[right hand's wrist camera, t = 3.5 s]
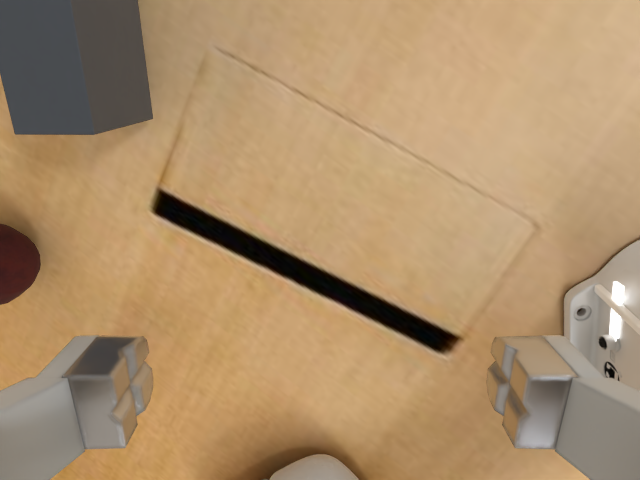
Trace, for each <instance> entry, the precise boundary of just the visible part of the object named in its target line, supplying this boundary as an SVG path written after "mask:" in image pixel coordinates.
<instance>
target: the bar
mask: <svg viewBox="0 0 640 480" xmlns="http://www.w3.org/2000/svg"><path fill="white" fill-rule="evenodd" d="M0 75H1V79H2V83H3V87H4V91H5V95H6V99H7V103H8V107H9V112H10V116H11V120H12V124H13V128H14V132H15V134H39V135H95V134H98V133H102V132H106V131H110V130H113V129H117V128H121V127H125V126H128V125H132V124H136V123H139V122H143V121H147V120H151V119H153V115H152V107H151V100H150V92H149V84H148V77H147V69H146V61H145V54H144V46H143V38H142V31H141V23H140V15H139V8H138V0H0Z"/></svg>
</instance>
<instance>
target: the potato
mask: <svg viewBox="0 0 640 480" xmlns="http://www.w3.org/2000/svg"><path fill="white" fill-rule="evenodd" d="M39 270H40V254H39V252H38V250H37V248H36V246H35V245H34V243H33V242H32V241H31V240H30V239H29V238H28V237H27V236H25V235H23V234H22V233H20V232H18V231H17V230H15V229H13V228H11V227H9V226H7V225H3V224H0V305H1V304H5V303H8V302H10V301H12V300H13V299H15V298H16V297H18V296H19V295H21V294H22V293H23V292H24V291H25V290H27V289H28V288H29V287H30V286H31V285H32V283H33V282H34V281H35V279H36V276H37V274H38V272H39Z"/></svg>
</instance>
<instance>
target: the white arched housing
mask: <svg viewBox="0 0 640 480" xmlns="http://www.w3.org/2000/svg"><path fill="white" fill-rule="evenodd" d="M262 480H269V479H262ZM270 480H359V479H358V478H357V477H356V476H355V475H354V474H353V473H352V472H351V471H350V469H349V468H347V467H346V466H345V465H344V464H343V463H342V462H340V461H339V460H338V459H336V458H334V457H332V456H330V455H326V454H316V455H311V456H308V457H305V458H302V459H300V460H298V461H296V462H293V463H291V464H289V465H287V466H286V467H284V468H282V469H280V470H278V471H276V472H275V473H274V474H273V475H272V476H271V478H270Z"/></svg>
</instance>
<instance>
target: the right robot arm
mask: <svg viewBox="0 0 640 480" xmlns="http://www.w3.org/2000/svg"><path fill="white" fill-rule="evenodd" d="M580 308H582V309H581V310H580V311H579V312H577V311H578V310H579V309H580ZM148 354H149V349H148V343H147V340H146V339H145V338H144V337H143V336H104V335H102V336H99V335H80V336H76V337H74V338H73V339H72V340H71V341H70V342H69V343H68V344H67V345H66V346H65V347H64V348H63V350H62V351H61V352H60V353H59V354H58V355H57V356H56V357H55V358H54V359H53V360H52V361H51V362H50V363H49V364H48V365H47V366H46V367H45V368H44V369H43V370H42V371H41V372H40V373H39V374H38V376H37V377H36V378H27V379H25V380H22V381H20V382H18V383H16V384H14V385H12V386H9V387H7V388H5V389H3V390H1V391H0V480H50V479H51V478H52V477H54V476H55V475H56V474H57V473H58V472H60V471H61V470H62V469H63V468H65V467H66V466H67V465H68V464H70V463H71V462H72V461H73V460H75V459H76V458H77V457H78V456H80V455H81V454H82V453H83V452H85V449H109V448H125V447H126V445H127V444H128V442H129V440H130V438H131V436H132V434H133V432H134V431H135V429H136V427H137V425H138V424H137V418H136V416H137V415H139V414H140V413H142V412H143V411H145V410H146V408H147V406H148V404H149V402H150V399H151V394H152V390H153V373H152V368H151V367H150V366H149V365H148V364H147V363H146V362H145V361H144V360H145V359H146V357H147V355H148ZM491 354H492V355H493V357H494V359H495V360H496V361H495V362H494V363H493V364H492V365H491V366H490V367H489V368H488V374H487V390H488V395H489V399H490V402H491V404H492V406H493V408H494V410H495V411H497V412H498V413H500V414H501V415H503V416H504V418H503V424H502V425H503V427H504V429H505V431H506V432H507V434H508V436H509V438H510V440H511V442H512V444H513V445H514V447H515V448H530V449H555V451H556V452H557V453H558V454H559V455H561V456H562V457H563V458H564V459H566V460H567V461H568V462H569V463H571V464H572V465H573V466H574V467H575V468H577V469H578V470H579V471H580V472H582V473H583V474H584V475H585V476H587V477H588V478H589V479H590V480H640V239H639V240H637V241H636V242H634V243H632V244H630V245H629V246H627V247H626V248H624V249H623V250H622V251H620V252H619V253H618V254H617V255H616V256H614V257H613V258H612V259H611V260H610V261H609V262H608V263H607V264H606V265H605V266H604V267H603V268H602V269H601V270H600V271H599V272H598V273H597V274H596V275H594V276H593V277H591V278H589V279H587V280H585V281H583V282H581V283H579V284H578V285H576V286H574V287H573V288H571V289H570V290H569V291H568V292H567V293H566V295H565V297H564V336H561V335H547V336H517V337H495V339H494V341H493V343H492V348H491Z"/></svg>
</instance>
